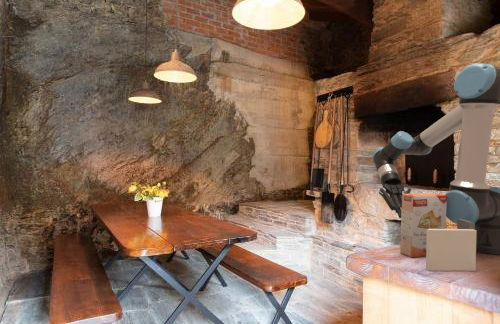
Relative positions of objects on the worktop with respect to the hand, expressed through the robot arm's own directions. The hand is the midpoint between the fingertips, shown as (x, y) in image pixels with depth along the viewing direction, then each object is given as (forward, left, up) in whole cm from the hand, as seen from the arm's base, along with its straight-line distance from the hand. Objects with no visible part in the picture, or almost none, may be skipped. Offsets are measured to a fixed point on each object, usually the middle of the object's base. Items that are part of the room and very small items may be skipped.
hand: (407, 224), depth 127 cm
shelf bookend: (0, +23, -8) cm, 24 cm away
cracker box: (0, +11, -8) cm, 14 cm away
